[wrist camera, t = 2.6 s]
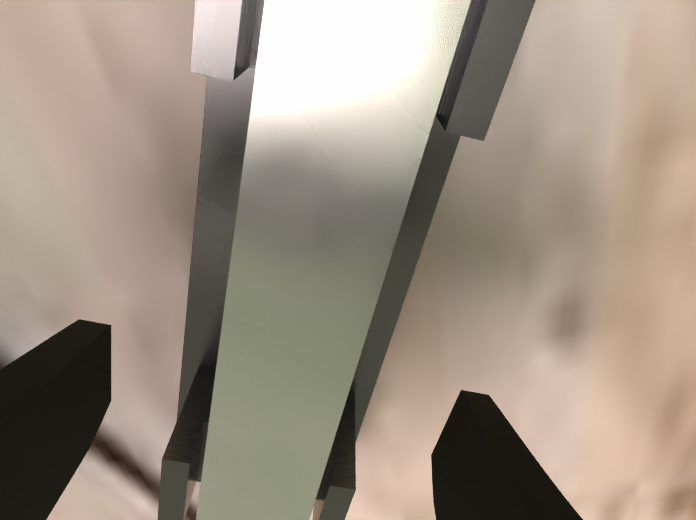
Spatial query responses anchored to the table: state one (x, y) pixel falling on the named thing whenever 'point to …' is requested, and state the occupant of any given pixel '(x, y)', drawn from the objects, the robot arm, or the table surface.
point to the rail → (315, 234)
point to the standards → (221, 209)
